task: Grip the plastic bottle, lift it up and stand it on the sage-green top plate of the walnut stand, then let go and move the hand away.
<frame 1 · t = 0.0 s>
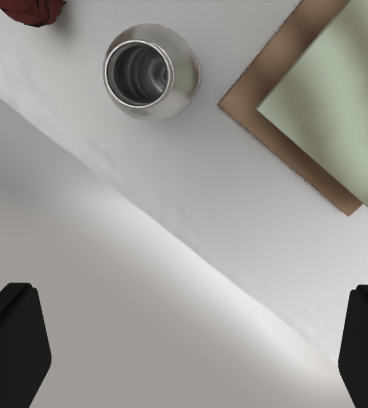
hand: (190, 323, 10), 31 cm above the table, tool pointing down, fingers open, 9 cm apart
walnut stand: (349, 89, 37), on the table
plastic bottle: (170, 75, 37), on the table
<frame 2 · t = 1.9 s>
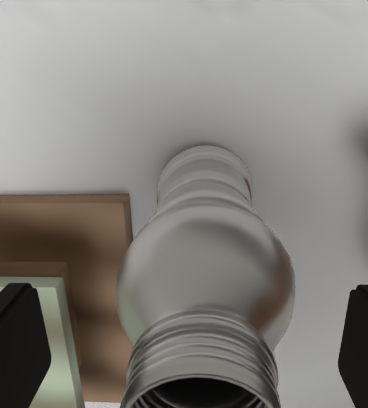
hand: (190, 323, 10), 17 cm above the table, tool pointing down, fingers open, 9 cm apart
walnut stand: (30, 298, 31), on the table
plastic bottle: (204, 180, 26), on the table
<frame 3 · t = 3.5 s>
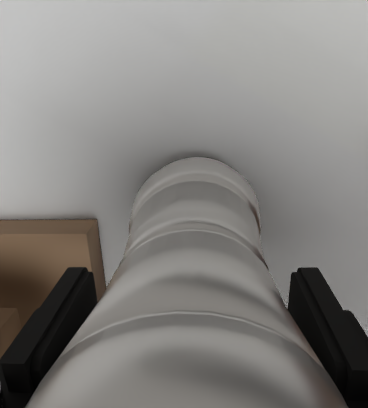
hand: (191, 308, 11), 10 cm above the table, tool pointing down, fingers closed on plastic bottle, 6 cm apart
plastic bottle: (196, 201, 20), on the table, touching gripper
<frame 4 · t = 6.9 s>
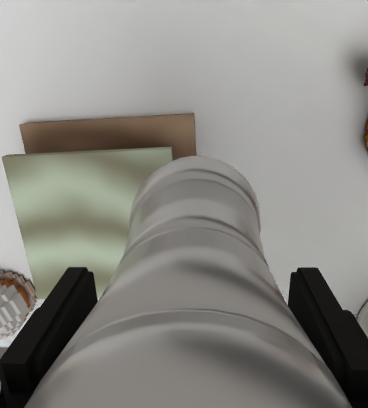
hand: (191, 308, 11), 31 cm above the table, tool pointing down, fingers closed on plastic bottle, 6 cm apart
walnut stand: (120, 197, 43), on the table
plastic bottle: (195, 200, 20), point 22 cm above the table, touching gripper
decorative ornament: (12, 291, 50), on the table
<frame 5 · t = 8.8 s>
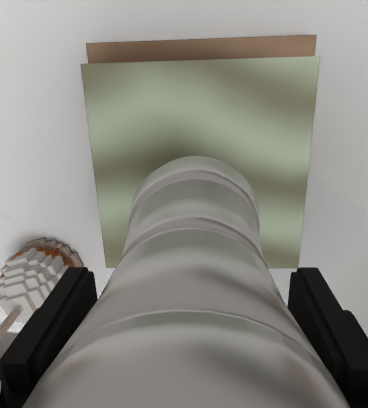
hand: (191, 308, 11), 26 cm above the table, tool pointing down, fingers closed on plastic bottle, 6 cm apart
walnut stand: (200, 148, 35), on the table
plastic bottle: (194, 200, 20), point 16 cm above the table, touching gripper
decorative ornament: (53, 265, 41), on the table
when the fingers open (21 cm above the table, at t = 10.5 s): plastic bottle drops 1 cm, resting on walnut stand.
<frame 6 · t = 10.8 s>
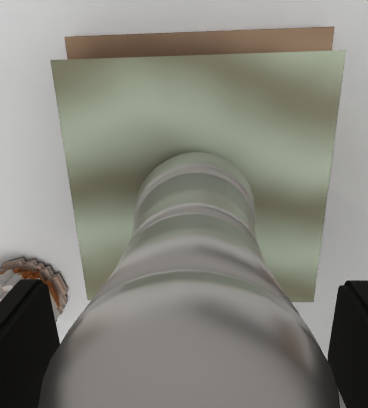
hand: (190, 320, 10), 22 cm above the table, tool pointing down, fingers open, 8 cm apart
walnut stand: (198, 158, 30), on the table
plastic bottle: (195, 194, 21), point 10 cm above the table, touching walnut stand
decorative ornament: (34, 286, 37), on the table
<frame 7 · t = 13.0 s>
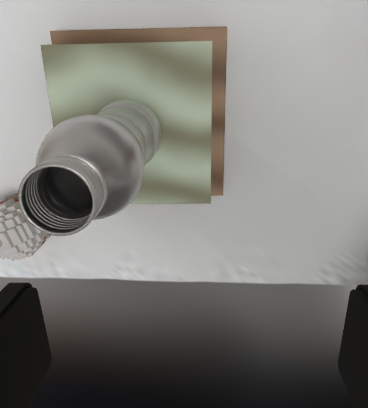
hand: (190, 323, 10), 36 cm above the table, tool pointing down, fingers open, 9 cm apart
walnut stand: (145, 117, 44), on the table
plastic bottle: (131, 130, 34), point 10 cm above the table, touching walnut stand
decorative ornament: (29, 217, 50), on the table
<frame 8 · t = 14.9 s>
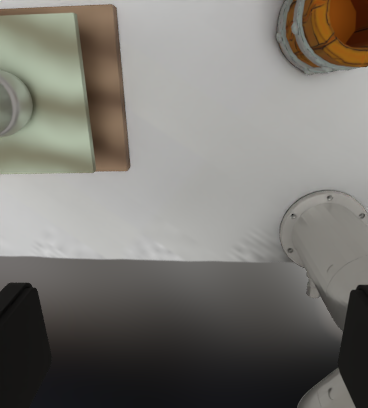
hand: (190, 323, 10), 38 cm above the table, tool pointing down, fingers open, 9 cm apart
walnut stand: (50, 95, 45), on the table
plastic bottle: (10, 101, 36), point 10 cm above the table, touching walnut stand
mug: (307, 9, 40), on the table
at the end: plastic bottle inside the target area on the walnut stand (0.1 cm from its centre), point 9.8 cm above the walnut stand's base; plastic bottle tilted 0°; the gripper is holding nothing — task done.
